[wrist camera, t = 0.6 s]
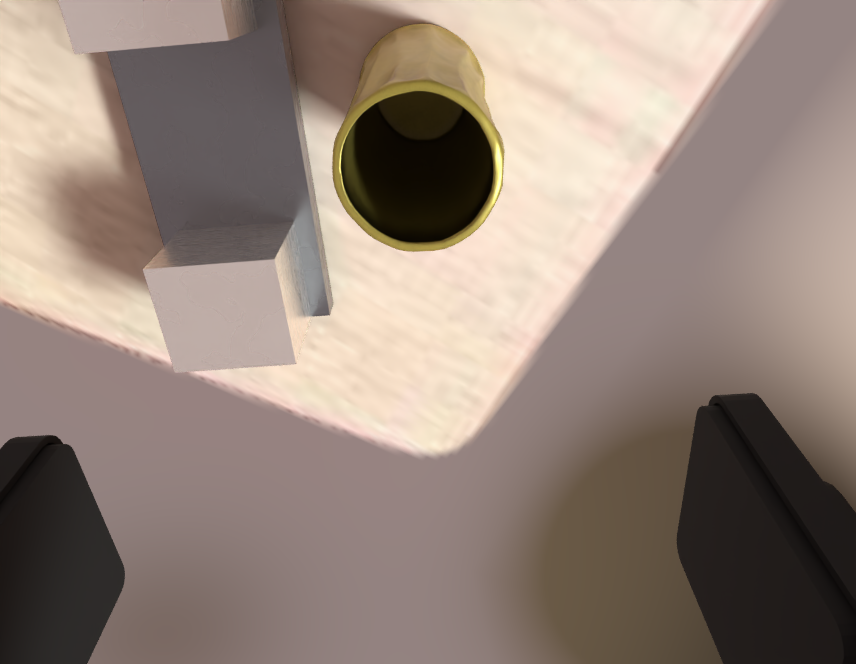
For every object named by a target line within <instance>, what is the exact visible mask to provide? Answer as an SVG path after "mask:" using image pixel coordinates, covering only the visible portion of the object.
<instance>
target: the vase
mask: <svg viewBox="0 0 856 664" xmlns="http://www.w3.org/2000/svg"><path fill="white" fill-rule="evenodd" d="M484 96H485V81H484V75H483V72H482V69H481V67H480V64H479V62H478V60H477V58H476V57H475V55H474V53H473V52H472V50H471V49H470V47H469V46H468V45H467V44H466V43H465V42H464V41H463V40H462V39H461V38H460V37H458V36H457V35H455V34H454V33H452V32H450V31H448V30H447V29H444V28H442V27H439V26H436V25H432V24H413V25H407V26H404V27H400V28H398V29H395V30H394V31H392V32H390V33H389V34H387V35H386V36H384V37H383V38H382V39H381V40H380V41H379V42H378V43H377V44H376V45H375V46H374V47H373V48H372V50H371V51H370V52H369V54H368V56H367V57H366V59H365V61H364V64H363V67H362V70H361V74H360V79H359V86H358V88H357V90H356V93H355V95H354V98H353V100H352V103H351V106H350V108H349V111H348V114H347V116H346V118H345V120H344V122H343V124H342V126H341V128H340V130H339V132H338V133H337V136H336V138H335V142H334V148H333V166H332V169H333V181H334V186H335V189H336V192H337V194H338V197H339V199H340V201H341V203H342V205H343V207H344V209H345V210H346V212H347V213H348V214H349V215H350V217H351V218H352V219H353V220H354V221H355V222H356V223H357V224H358V225H359V226H360V227H361V228H362V229H363V230H364V231H365V232H366V233H367V234H368V235H370V236H371V237H373V238H374V239H376V240H378V241H380V242H382V243H384V244H386V245H388V246H390V247H393V248H395V249H398V250H403V251H413V252H415V251H435V250H441V249H445V248H448V247H450V246H453V245H455V244H457V243H459V242H461V241H462V240H464V239H465V238H467V237H468V236H470V235H471V234H472V233H473V232H475V231H476V230H477V229H478V228H479V227H480V226H481V225H482V224H483V223H484V221H485V220H486V218H487V217H488V215H489V214H490V212H491V210H492V208H493V207H494V205H495V203H496V201H497V199H498V197H499V195H500V192H501V189H502V186H503V167H504V146H503V141H502V138H501V136H500V134H499V132H498V131H497V129H496V127H495V125H494V123H493V120H492V117H491V114H490V110H489V108H488V105H487V103H486V100H485V98H484Z"/></svg>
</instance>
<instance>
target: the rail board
mask: <svg viewBox="0 0 856 664" xmlns="http://www.w3.org/2000/svg"><path fill="white" fill-rule="evenodd" d="M58 2H59V5H60V8H61V12H62V15H63V18H64V21H65V24H66V27H67V31H68V34H69V37H70V40H71V43H72V47H73V50H74V53H75V54H83V53H94V52H106V51H107V52H108V56H109V59H110V63H111V66H112V70H113V73H114V76H115V80H116V83H117V87H118V90H119V94H120V97H121V100H122V104H123V107H124V111H125V114H126V118H127V121H128V124H129V128H130V131H131V135H132V138H133V142H134V145H135V148H136V152H137V155H138V159H139V162H140V166H141V169H142V172H143V176H144V179H145V183H146V186H147V190H148V193H149V196H150V200H151V203H152V207H153V210H154V214H155V217H156V220H157V224H158V227H159V231H160V234H161V238H162V241H163V244H164V247H163V248H162V249H161V250H160V251H159V252H158V253H157V254H156V256H155V257H154V258H153V259H152V260H151V261H150V262H149V263H148V264H147V265H146V266H145V267H144V268H143V273H144V276H145V279H146V282H147V285H148V289H149V292H150V295H151V298H152V301H153V304H154V308H155V311H156V314H157V317H158V320H159V324H160V327H161V330H162V333H163V336H164V339H165V343H166V346H167V349H168V352H169V355H170V359H171V362H172V365H173V368H174V371H175V373H177V372H191V371H205V370H220V369H234V368H248V367H262V366H276V365H291V364H296V363H297V360H298V357H299V354H300V351H301V348H302V345H303V342H304V339H305V336H306V333H307V330H308V327H309V324H310V321H311V318H312V316H325V315H330V313H331V309H332V306H333V299H332V293H331V287H330V281H329V275H328V269H327V263H326V257H325V251H324V245H323V239H322V233H321V227H320V221H319V215H318V209H317V203H316V197H315V191H314V185H313V179H312V173H311V167H310V161H309V155H308V150H307V144H306V138H305V132H304V126H303V120H302V114H301V108H300V102H299V96H298V90H297V84H296V78H295V72H294V66H293V60H292V54H291V48H290V42H289V36H288V30H287V24H286V18H285V12H284V6H283V0H58Z"/></svg>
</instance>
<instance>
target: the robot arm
mask: <svg viewBox="0 0 856 664" xmlns="http://www.w3.org/2000/svg"><path fill="white" fill-rule="evenodd" d="M677 549H678V554H679V558H680V561H681V564H682V566H683V568H684V571H685V573H686V576H687V578H688V580H689V583H690V585H691V588H692V590H693V592H694V595H695V597H696V599H697V602H698V604H699V607H700V609H701V611H702V614H703V616H704V618H705V621H706V623H707V626H708V628H709V630H710V633H711V635H712V638H713V640H714V642H715V645H716V647H717V650H718V652H719V655H720V657H721V659H722V662H723V664H856V512H855V511H854V510H853V509H852V507H851V506H850V505H849V504H848V502H847V501H846V499H845V498H844V497H843V496H842V494H841V493H840V492H839V491H838V490H837V489H836V488H835V487H834V486H833V485H831V484H829V483H827V482H825V481H822V479H821V478H820V477H819V475H818V474H817V473H816V471H815V470H814V469H813V467H812V466H811V465H810V463H809V462H808V461H807V459H806V458H805V457H804V455H803V454H802V453H801V451H800V450H799V449H798V447H797V446H796V445H795V443H794V442H793V441H792V439H791V438H790V437H789V435H788V434H787V433H786V431H785V430H784V428H783V427H782V426H781V424H780V423H779V422H778V420H777V419H776V418H775V416H774V415H773V414H772V412H771V411H770V410H769V408H768V407H767V406H766V404H765V403H764V402H763V400H762V399H761V398H760V397H759V396H758V395H757V394H753V393H747V394H731V395H715V396H713V397H712V398H711V400H710V401H709V405H708V406H702V407H700V408H699V409H698V411H697V415H696V421H695V427H694V433H693V440H692V446H691V452H690V458H689V464H688V471H687V477H686V483H685V489H684V495H683V501H682V508H681V514H680V520H679V526H678V533H677ZM124 579H125V571H124V566H123V563H122V561H121V559H120V556H119V554H118V552H117V549H116V547H115V545H114V542H113V540H112V538H111V535H110V533H109V531H108V529H107V526H106V524H105V522H104V519H103V517H102V515H101V512H100V510H99V508H98V505H97V503H96V501H95V499H94V496H93V494H92V492H91V489H90V487H89V485H88V482H87V480H86V478H85V476H84V473H83V471H82V469H81V466H80V464H79V462H78V460H77V457H76V455H75V452H74V451H73V449H72V447H71V446H69V445H67V444H63V443H62V442H61V440H60V439H59V438H58V437H56V436H53V435H45V436H28V437H15V438H12V439H10V440H9V441H8V442H6V443H5V444H4V445H3V447H2V448H1V449H0V664H87V663H88V661H89V659H90V657H91V654H92V652H93V650H94V648H95V646H96V644H97V642H98V640H99V637H100V636H101V633H102V631H103V629H104V627H105V625H106V623H107V620H108V618H109V616H110V614H111V612H112V610H113V608H114V606H115V604H116V601H117V600H118V597H119V595H120V593H121V591H122V588H123V585H124Z"/></svg>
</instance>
